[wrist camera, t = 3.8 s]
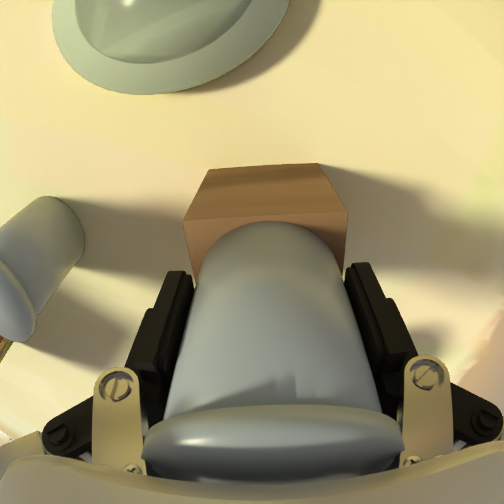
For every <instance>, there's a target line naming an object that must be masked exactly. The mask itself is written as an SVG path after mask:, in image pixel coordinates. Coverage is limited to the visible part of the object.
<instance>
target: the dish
mask: <svg viewBox="0 0 504 504" xmlns="http://www.w3.org/2000/svg"><path fill="white" fill-rule="evenodd" d="M289 2H290V0H54V1H53V7H52V24H53V32H54V36H55V40H56V43H57V45H58V48H59V50H60V52H61V54H62V55H63V57H64V58H65V60H66V62H67V63H68V64H69V65H70V66H71V67H72V68H73V70H74V71H76V72H77V73H78V74H79V75H80V76H82V77H83V78H84V79H86V80H88V81H89V82H91V83H93V84H94V85H97V86H99V87H102V88H104V89H107V90H110V91H114V92H118V93H124V94H133V95H154V94H162V93H170V92H175V91H180V90H184V89H189V88H193V87H196V86H199V85H202V84H205V83H207V82H209V81H212V80H214V79H216V78H219V77H221V76H223V75H224V74H226V73H228V72H230V71H231V70H233V69H235V68H236V67H238V66H239V65H241V64H242V63H243V62H245V61H246V60H248V59H249V58H250V57H251V56H252V55H253V54H254V53H256V52H257V51H258V50H259V49H260V48H261V47H262V46H263V45H264V44H265V43H266V41H267V40H268V39H269V38H270V37H271V36H272V34H273V33H274V31H275V30H276V28H277V27H278V25H279V24H280V22H281V20H282V18H283V16H284V14H285V12H286V10H287V7H288V5H289Z"/></svg>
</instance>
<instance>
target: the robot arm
mask: <svg viewBox="0 0 504 504" xmlns="http://www.w3.org/2000/svg"><path fill="white" fill-rule="evenodd" d="M344 284H345V287H346V290H347V293H348V296H349V299H350V302H351V305H352V308H353V312H354V315H355V318H356V321H357V324H358V327H359V331H360V334H361V337H362V340H363V344H364V347H365V350H366V354H367V357H368V361H369V364H370V368H371V371H372V375H373V379H374V382H375V386H376V390H377V394H378V397H379V401H380V405H381V409H382V413H383V414H385V415H387V416H389V417H391V418H392V419H394V420H395V421H396V422H397V423H398V424H399V426H400V429H401V434H402V438H403V442H404V446H405V450H403V451H400V453H399V454H398V455H397V456H396V457H395V458H394V459H395V460H394V461H393V462H392V463H391V464H390V465H389V466H388V467H387V468H386V469H385V470H384V471H383V472H379V473H374V474H369V475H364V476H358V477H352V478H346V479H339V480H331V481H323V482H313V483H302V484H286V485H225V484H209V483H197V482H187V481H179V480H171V479H164V478H163V477H162V476H161V475H159V474H158V473H157V472H156V471H155V470H154V469H152V468H151V467H153V466H152V465H151V464H149V463H148V462H147V461H146V460H145V459H141V454H142V450H143V445H144V439H145V435H146V433H147V431H148V430H149V429H150V428H151V427H152V426H154V425H155V424H157V423H159V422H160V421H163V417H164V413H165V408H166V404H167V399H168V395H169V390H170V386H171V382H172V377H173V373H174V369H175V365H176V360H177V356H178V352H179V348H180V344H181V340H182V336H183V332H184V328H185V324H186V320H187V317H188V313H189V309H190V305H191V301H192V298H193V294H194V285H193V281H192V277H191V275H186V272H185V271H169V272H168V273H167V275H166V277H165V280H164V282H163V285H162V287H161V290H160V292H159V295H158V297H157V300H156V302H155V305H154V308H149V309H147V311H146V312H145V315H144V317H143V320H142V322H141V325H140V327H139V330H138V332H137V335H136V337H135V340H134V343H133V345H132V348H131V351H130V353H129V356H128V359H127V361H126V364H125V367H115V368H111V369H109V370H107V371H105V372H104V373H102V374H101V375H100V376H99V377H98V379H97V381H96V382H95V386H94V395H93V396H92V397H90V398H88V399H86V400H85V401H83V402H81V403H80V404H78V405H76V406H74V407H72V408H71V409H69V410H67V411H65V412H64V413H62V414H60V415H58V416H56V417H55V418H53V419H52V420H50V421H49V422H48V423H47V424H46V426H45V427H44V429H43V432H42V433H40V432H39V431H36V432H33V433H31V434H29V435H26V436H24V437H21V438H19V439H16V440H14V441H11V442H9V443H6V444H4V445H2V446H0V504H504V417H503V416H502V414H501V412H500V410H499V409H498V408H497V406H495V405H494V404H492V403H491V402H489V401H487V400H485V399H483V398H481V397H479V396H477V395H475V394H473V393H471V392H469V391H467V390H465V389H463V388H461V387H459V386H457V385H455V384H453V383H451V382H450V377H449V372H448V369H447V368H446V366H445V365H444V363H442V362H441V361H440V360H439V359H437V358H435V357H433V356H428V355H419V356H418V353H417V351H416V348H415V346H414V344H413V341H412V339H411V337H410V334H409V332H408V330H407V328H406V325H405V323H404V321H403V319H402V317H401V314H400V312H399V310H398V308H397V306H396V304H395V302H394V300H393V299H392V298H386V297H385V295H384V293H383V291H382V289H381V286H380V284H379V282H378V280H377V278H376V276H375V274H374V272H373V270H372V268H371V266H370V264H369V263H368V262H362V263H352V265H351V267H349V268H347V269H346V273H345V281H344Z"/></svg>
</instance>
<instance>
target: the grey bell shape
mask: <svg viewBox="0 0 504 504" xmlns="http://www.w3.org/2000/svg"><path fill="white" fill-rule="evenodd" d="M403 450H405V446H404V442H403V438H402V434H401V429H400V426H399V424H398V423H397V422H396V421H395V420H394V419H392V418H391V417H389V416H387V415H385V414H383V413H382V409H381V405H380V401H379V397H378V394H377V390H376V386H375V382H374V379H373V375H372V371H371V368H370V364H369V361H368V357H367V354H366V350H365V347H364V344H363V340H362V337H361V334H360V331H359V327H358V324H357V321H356V318H355V315H354V312H353V308H352V305H351V302H350V299H349V296H348V293H347V290H346V287H345V284H344V282H343V279H342V276H341V273H340V270H339V267H338V264H337V262H336V259H335V257H334V255H333V253H332V251H331V250H330V248H329V246H328V245H327V244H326V243H325V242H324V241H323V240H322V239H321V238H320V237H318V236H317V235H316V234H314V233H313V232H311V231H310V230H308V229H306V228H303V227H301V226H299V225H295V224H292V223H288V222H282V221H259V222H253V223H249V224H245V225H242V226H239V227H237V228H235V229H233V230H231V231H229V232H228V233H226V234H224V235H223V236H222V237H220V238H219V239H218V240H217V241H216V242H215V243H214V244H213V245H212V246H211V247H210V249H209V250H208V252H207V253H206V255H205V257H204V259H203V262H202V265H201V268H200V272H199V275H198V279H197V283H196V286H195V290H194V294H193V298H192V301H191V305H190V309H189V313H188V317H187V320H186V324H185V328H184V332H183V336H182V340H181V344H180V348H179V352H178V356H177V360H176V365H175V369H174V373H173V377H172V382H171V386H170V390H169V395H168V399H167V404H166V408H165V413H164V417H163V421H160V422H159V423H157V424H155V425H154V426H152V427H151V428H150V429H149V430H148V431H147V433H146V435H145V439H144V445H143V450H142V454H141V459H145V460H146V461H147V462H148V463H149V464H151V465H152V466H153V467H151V468H152V469H154V470H155V471H156V472H157V473H158V474H159V475H161V476H162V477H163V478H164V479H171V480H179V481H187V482H197V483H209V484H225V485H286V484H302V483H313V482H323V481H331V480H339V479H346V478H352V477H358V476H364V475H369V474H374V473H379V472H383V471H384V470H385V469H386V468H387V467H388V466H389V465H390V464H391V463H392V462H393V461H394V460H395V459H394V458H395V457H396V456H397V455H398V454H399V453H400V451H403Z"/></svg>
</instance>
